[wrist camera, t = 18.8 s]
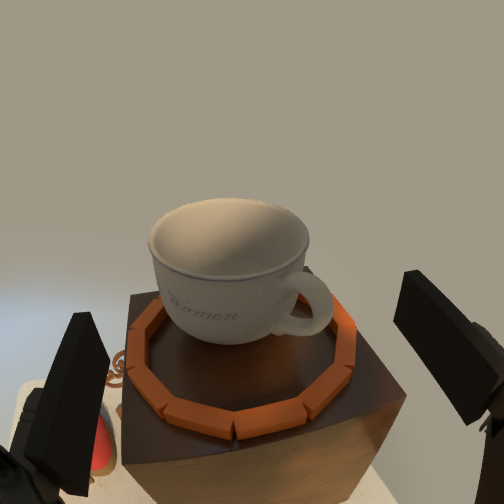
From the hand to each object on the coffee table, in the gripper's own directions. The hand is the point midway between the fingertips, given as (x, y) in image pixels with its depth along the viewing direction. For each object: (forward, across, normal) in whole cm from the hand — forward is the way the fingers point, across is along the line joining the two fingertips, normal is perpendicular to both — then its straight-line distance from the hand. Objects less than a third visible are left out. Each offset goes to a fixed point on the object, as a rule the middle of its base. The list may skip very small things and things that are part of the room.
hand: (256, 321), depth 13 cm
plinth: (+8, 0, -31) cm, 32 cm away
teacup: (+10, 0, -8) cm, 13 cm away
